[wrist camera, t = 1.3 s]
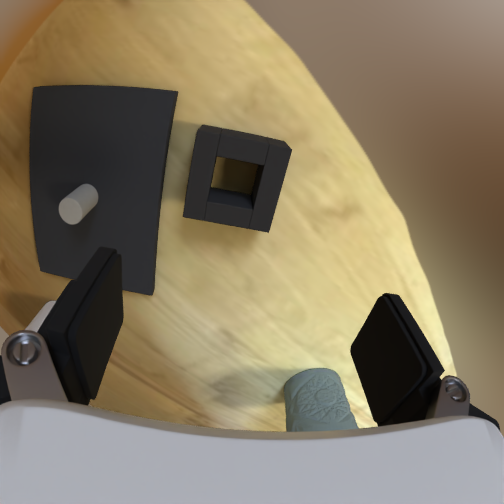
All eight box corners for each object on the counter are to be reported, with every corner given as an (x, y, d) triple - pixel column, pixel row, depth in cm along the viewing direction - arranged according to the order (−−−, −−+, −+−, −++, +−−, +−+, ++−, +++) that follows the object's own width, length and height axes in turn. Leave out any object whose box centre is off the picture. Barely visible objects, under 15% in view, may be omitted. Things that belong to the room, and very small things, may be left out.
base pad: (40, 86, 19) (10, 90, 15) (178, 91, 21) (165, 92, 17) (44, 265, 29) (26, 289, 25) (154, 289, 31) (144, 318, 27)
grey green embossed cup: (303, 407, 45) (314, 470, 35) (263, 386, 41) (270, 459, 31) (355, 379, 42) (375, 445, 32) (321, 353, 38) (341, 431, 28)
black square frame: (202, 124, 23) (197, 129, 20) (284, 141, 24) (292, 149, 21) (188, 201, 26) (182, 217, 23) (265, 215, 28) (268, 232, 25)
